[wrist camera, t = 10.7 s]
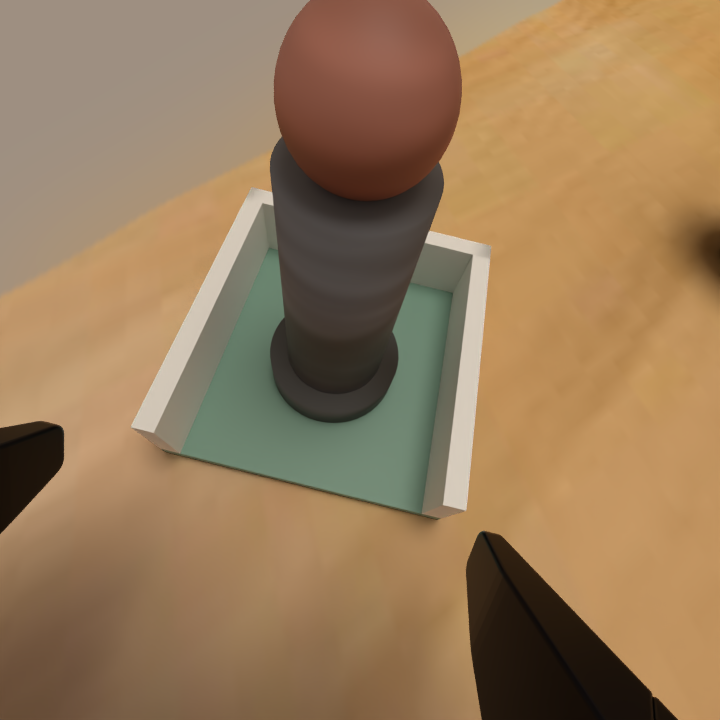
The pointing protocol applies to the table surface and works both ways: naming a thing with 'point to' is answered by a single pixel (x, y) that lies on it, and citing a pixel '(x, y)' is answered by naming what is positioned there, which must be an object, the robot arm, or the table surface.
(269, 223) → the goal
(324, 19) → the player figure
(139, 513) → the table surface
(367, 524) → the table surface
